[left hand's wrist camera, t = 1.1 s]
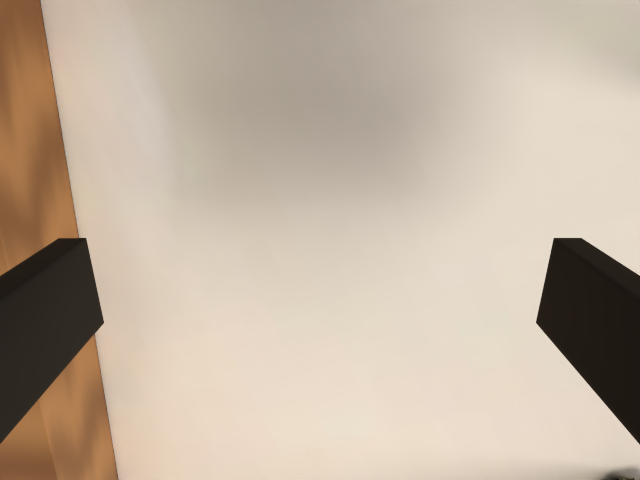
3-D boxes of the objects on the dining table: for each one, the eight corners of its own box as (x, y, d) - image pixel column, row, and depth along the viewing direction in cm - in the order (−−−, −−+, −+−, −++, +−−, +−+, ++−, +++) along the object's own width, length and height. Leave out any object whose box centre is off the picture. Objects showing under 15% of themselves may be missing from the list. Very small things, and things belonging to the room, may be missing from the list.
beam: (-80, -202, 25) (-253, -322, 17) (8, -197, 25) (-126, -314, 18) (86, 563, 48) (44, 654, 41) (132, 564, 49) (97, 655, 41)
